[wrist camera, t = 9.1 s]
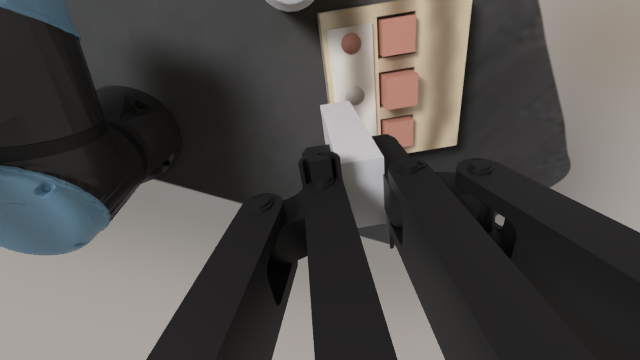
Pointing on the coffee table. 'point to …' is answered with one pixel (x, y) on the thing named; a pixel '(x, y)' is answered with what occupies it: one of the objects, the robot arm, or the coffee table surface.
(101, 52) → the coffee table surface
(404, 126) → the button
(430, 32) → the board
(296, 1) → the can
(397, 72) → the button
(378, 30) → the button
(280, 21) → the coffee table surface
